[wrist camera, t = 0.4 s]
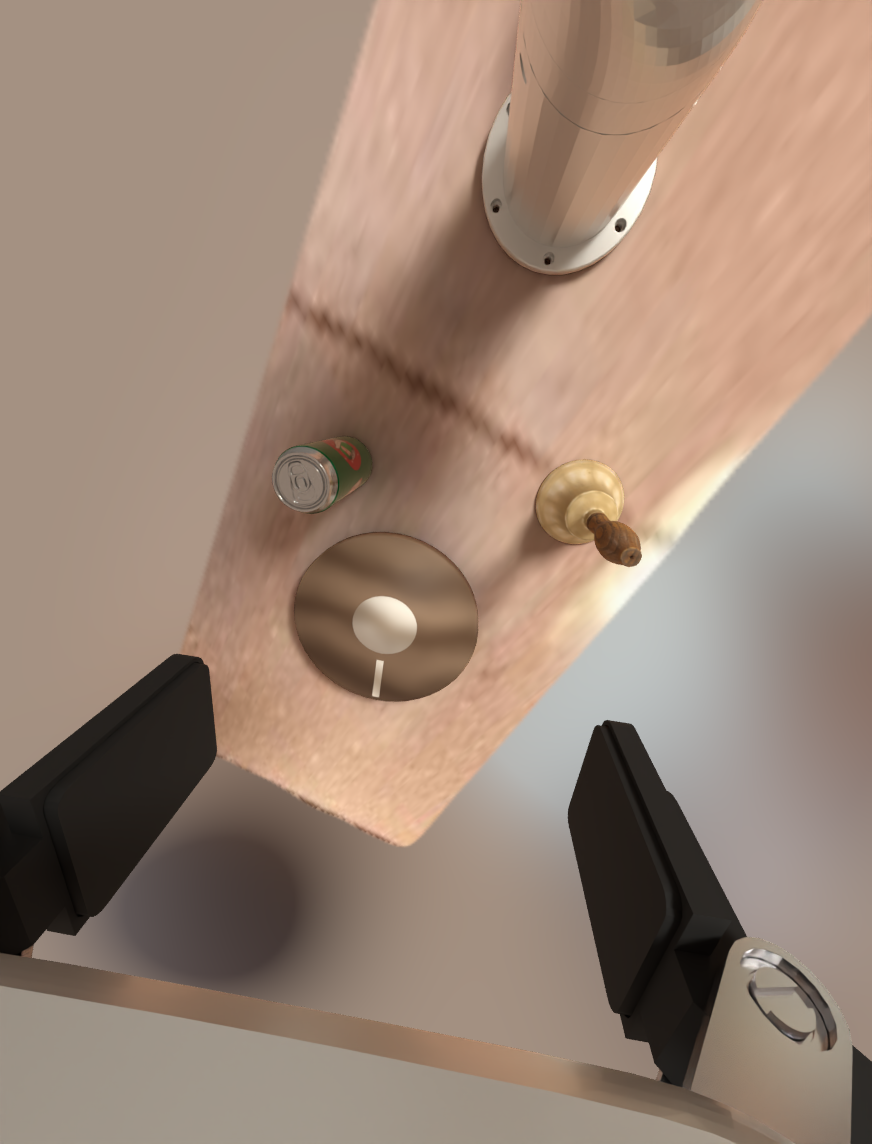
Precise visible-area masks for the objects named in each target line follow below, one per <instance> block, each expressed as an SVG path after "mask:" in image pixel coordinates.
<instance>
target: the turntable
mask: <svg viewBox="0 0 872 1144" xmlns="http://www.w3.org/2000/svg"><path fill="white" fill-rule="evenodd" d="M294 617H295V624H296V630H297V633H298V636H299V639H300V641H301V643H302V646H303V648H304V650H305V651H306V653H307V654H308V656H309V658H310V659H311V660H312V662H313V663H314V664H315V665H316V666H317V668H318V669H319V670H320V671H321V672H322V673H323V674H325V675H326V676H327V677H328V678H329V679H331V680H332V681H333V682H335V683H336V684H338V685H339V686H341V687H343V688H344V689H346V690H349V691H351V692H353V693H355V694H358V695H361V696H363V697H367V698H371V699H375V700H382V701H409V700H414V699H419V698H422V697H426V696H429V695H431V694H433V693H435V692H438V691H440V690H441V689H443V688H444V687H446V686H448V685H449V684H450V683H451V682H452V681H454V680H455V679H456V678H457V677H458V676H459V675H460V674H461V672H462V671H463V670H464V669H465V667H466V666H467V664H468V663H469V661H470V659H471V657H472V655H473V652H474V649H475V646H476V642H477V635H478V612H477V605H476V601H475V598H474V594H473V592H472V590H471V587H470V585H469V583H468V581H467V580H466V578H465V577H464V575H463V574H462V572H461V571H460V570H459V569H458V567H457V566H456V565H455V564H454V563H453V562H452V561H451V560H450V559H449V558H448V557H447V556H446V555H444V554H443V553H442V552H440V551H439V550H437V549H436V548H434V547H433V546H431V545H429V544H427V543H425V542H423V541H421V540H418V539H416V538H413V537H410V536H406V535H402V534H397V533H389V532H372V533H365V534H359V535H356V536H352V537H349V538H347V539H345V540H342V541H340V542H338V543H336V544H335V545H333V546H332V547H330V548H329V549H327V550H326V551H325V552H324V553H323V554H321V555H320V556H319V557H318V558H317V559H316V560H315V561H314V562H313V563H312V565H311V566H310V567H309V568H308V569H307V571H306V573H305V574H304V576H303V577H302V579H301V582H300V584H299V586H298V589H297V593H296V597H295V605H294Z"/></svg>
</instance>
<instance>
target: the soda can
mask: <svg viewBox="0 0 872 1144" xmlns="http://www.w3.org/2000/svg"><path fill="white" fill-rule="evenodd" d="M371 471H372V459H371V456H370V453H369V451H368V449H367V448H366V447H365V445H364V444H363V443H361V442H360V441H359V440H357V439H355V438H353V437H349V436H340V437H335V438H331V439H326V440H321V441H317V442H312V443H308V444H303V445H299V446H295V447H291V448H289V449H287V450H286V451H285V452H283V453H282V454H281V455H280V457H279V458H278V460H277V462H276V464H275V467H274V469H273V474H272V483H273V487H274V490H275V492H276V494H277V496H278V498H279V499H280V500H281V501H282V502H283V503H284V504H285V505H286V506H288V507H289V508H291V509H293V510H296V511H299V512H302V513H308V514H314V513H319V512H322V511H324V510H326V509H328V508H329V507H331V506H332V505H333V504H335V503H336V502H338V501H339V500H341V499H342V498H344V497H345V496H347V495H348V494H350V493H351V492H353V491H354V490H356V489H357V488H359V487H360V486H361V485H363V484H364V483H365V482H366V481H367V480H368V478H369V476H370V474H371Z"/></svg>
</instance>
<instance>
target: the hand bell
mask: <svg viewBox="0 0 872 1144" xmlns="http://www.w3.org/2000/svg"><path fill="white" fill-rule="evenodd" d="M623 505H624V491H623V486H622V483H621V481H620V479H619V478H618V476H617V475H616V473H615V472H614V471H613V470H612V469H610V468H609V467H608V466H606V465H605V464H603V463H600V462H597V461H593V460H585V459H584V460H575V461H571V462H568V463H565V464H563V465H561V466H560V467H558V468H556V469H555V470H554V471H552V472H551V473H550V474H549V475H548V476H547V478H546V479H545V480H544V481H543V483H542V485H541V487H540V489H539V491H538V494H537V499H536V514H537V517H538V520H539V523H540V524H541V526H542V528H543V529H544V530H545V532H546V533H548V534H549V535H550V536H551V537H553V538H554V539H556V540H558V541H561V542H564V543H569V544H582V543H588V542H591V541H595V545H596V547H597V549H598V551H599V552H600V554H601V555H602V556H603V557H604V558H605V559H606V560H608V561H610V562H612V563H615V564H620V565H624V566H627V567H632V566H636V565H637V564H638V563H639V562H640V560H641V558H642V554H641V551H640V550H641V546H640V541H639V538H638V536H637V535H636V533H635V532H634V531H633V530H632V529H631V528H630V527H628V526H627V525H625V524H623V523H620V522H617V520H618V519H619V517H620V515H621V512H622V509H623Z"/></svg>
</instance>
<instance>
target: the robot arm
mask: <svg viewBox="0 0 872 1144" xmlns="http://www.w3.org/2000/svg"><path fill="white" fill-rule="evenodd" d="M762 1H763V0H521V3H520V13H519V22H518V32H517V42H516V51H515V61H514V71H513V80H512V90H511V93H510V94H509V95H508V96H507V98H506V100H505V101H504V103H503V105H502V107H501V108H500V110H499V112H498V114H497V115H496V118H495V120H494V123H493V125H492V128H491V130H490V133H489V136H488V140H487V144H486V148H485V153H484V158H483V170H482V195H483V202H484V208H485V213H486V216H487V219H488V222H489V225H490V228H491V230H492V232H493V234H494V236H495V238H496V240H497V242H498V243H499V245H500V246H501V247H502V248H503V249H504V251H505V252H506V253H507V254H508V256H510V257H511V258H512V259H513V260H515V261H516V262H517V263H518V264H520V265H521V266H523V267H525V268H528V269H530V270H532V271H534V272H538V273H543V274H547V275H563V274H568V273H572V272H577V271H580V270H582V269H584V268H586V267H589V266H591V265H593V264H595V263H596V262H597V261H599V260H600V259H602V258H603V257H605V256H606V255H608V254H609V253H610V252H611V251H612V250H613V249H614V248H615V247H616V246H617V245H618V244H619V243H620V242H621V241H622V240H623V238H624V237H625V236H626V235H627V234H628V232H629V231H630V230H631V228H632V227H633V225H634V224H635V222H636V220H637V219H638V217H639V216H640V214H641V212H642V210H643V208H644V206H645V203H646V201H647V199H648V197H649V194H650V192H651V188H652V185H653V181H654V177H655V174H656V168H657V160H658V155H659V154H660V153H661V151H662V150H663V148H664V147H665V146H666V144H667V143H668V141H669V140H670V139H671V137H672V136H673V134H674V133H675V132H676V130H677V129H678V128H679V126H680V125H681V123H682V122H683V121H684V119H685V118H686V116H687V115H688V114H689V112H690V111H691V109H692V108H693V107H694V105H695V104H696V102H697V101H698V100H699V98H700V97H701V95H702V94H703V93H704V91H705V90H706V88H707V87H708V86H709V84H710V83H711V82H712V80H713V79H714V77H715V76H716V75H717V73H718V72H719V70H720V69H721V68H722V66H723V64H724V63H725V62H726V60H727V59H728V57H729V56H730V54H731V53H732V52H733V50H734V49H735V47H736V46H737V44H738V43H739V41H740V40H741V38H742V37H743V35H744V33H745V32H746V30H747V28H748V27H749V25H750V23H751V22H752V20H753V18H754V16H755V15H756V13H757V11H758V9H759V7H760V6H761V3H762ZM494 207H498V208H499V212H498V213H494V212H493V208H494ZM616 226H619V227H620V232H617V231H616V230H615V227H616ZM545 259H549V260H550V264H549V265H546V264H545V263H544V260H545ZM216 753H217V745H216V735H215V725H214V715H213V704H212V694H211V684H210V674H209V668H208V666H207V665H205V664H204V663H203V660H202V659H201V658H199V657H194V656H188V655H181V654H174V655H172V656H170V657H169V658H168V659H166V660H165V661H164V662H162V663H161V664H160V665H159V666H157V667H156V668H155V669H154V670H152V671H151V672H150V673H149V674H147V675H146V676H145V677H144V678H142V679H141V680H140V681H139V682H137V683H136V684H135V685H134V686H132V687H131V688H130V689H128V690H127V691H126V692H125V693H123V694H122V695H121V696H120V697H119V698H117V699H116V700H115V701H114V702H112V703H111V704H110V705H108V706H107V707H106V708H105V709H104V710H102V711H101V712H100V713H98V714H97V715H96V716H94V717H93V718H92V719H91V720H89V721H88V722H87V723H86V724H84V725H83V726H82V727H81V728H79V729H78V730H77V731H76V732H74V733H73V734H72V735H71V736H69V737H68V738H67V739H66V740H64V741H63V742H62V743H60V744H59V745H58V746H57V747H56V748H54V749H53V750H52V751H50V752H49V753H48V754H47V755H45V756H44V757H43V758H42V759H40V760H39V761H38V762H37V763H35V764H34V765H33V766H32V767H30V768H29V769H28V770H27V771H25V772H24V773H23V774H21V775H20V776H19V777H18V778H17V779H15V780H14V781H13V782H11V783H10V784H9V785H8V786H6V787H5V788H4V789H3V790H1V791H0V1144H872V1062H871V1061H870V1060H869V1059H868V1058H867V1057H866V1056H864V1055H863V1054H862V1053H861V1052H860V1051H859V1050H857V1049H856V1048H855V1047H854V1046H853V1045H852V1042H851V1036H850V1030H849V1028H848V1026H847V1023H846V1021H845V1019H844V1017H843V1014H842V1012H841V1010H840V1008H839V1007H838V1005H837V1004H836V1002H835V1001H834V999H833V998H832V996H831V995H830V993H829V992H828V990H827V989H826V988H825V987H824V986H823V984H822V983H821V982H820V981H819V980H818V979H817V978H816V977H815V975H814V974H813V973H812V972H811V971H810V970H809V969H808V968H807V967H805V966H804V965H803V964H802V963H801V962H800V961H798V960H797V959H796V958H795V957H794V956H793V955H791V954H790V953H788V952H786V951H785V950H783V949H782V948H780V947H778V946H777V945H775V944H772V943H770V942H767V941H765V940H763V939H760V938H752V937H747V936H746V934H745V932H744V930H743V928H742V926H741V924H740V922H739V920H738V918H737V916H736V914H735V913H734V911H733V909H732V907H731V905H730V903H729V901H728V899H727V897H726V895H725V893H724V891H723V889H722V887H721V886H720V884H719V882H718V880H717V878H716V876H715V874H714V872H713V870H712V868H711V866H710V864H709V862H708V860H707V858H706V856H705V855H704V853H703V851H702V849H701V847H700V845H699V843H698V841H697V839H696V838H695V835H694V833H693V831H692V830H691V828H690V826H689V824H688V822H687V820H686V818H685V816H684V814H683V812H682V810H681V808H680V806H679V804H678V803H677V801H676V799H675V798H674V796H673V795H672V794H671V793H670V792H668V791H666V789H665V787H664V785H663V783H662V781H661V779H660V777H659V775H658V773H657V771H656V769H655V767H654V765H653V763H652V761H651V759H650V758H649V755H648V753H647V751H646V749H645V747H644V745H643V743H642V742H641V739H640V737H639V735H638V733H637V732H636V730H635V728H634V726H633V725H632V724H629V723H622V722H615V721H609V720H606V721H604V722H603V724H602V726H600V725H597V726H595V728H594V730H593V734H592V737H591V740H590V743H589V746H588V749H587V752H586V755H585V758H584V761H583V765H582V768H581V771H580V774H579V777H578V780H577V783H576V786H575V789H574V792H573V796H572V799H571V802H570V805H569V809H568V823H569V828H570V833H571V837H572V842H573V846H574V851H575V855H576V860H577V864H578V868H579V873H580V877H581V882H582V886H583V891H584V895H585V899H586V904H587V908H588V913H589V917H590V921H591V926H592V931H593V935H594V940H595V944H596V948H597V953H598V957H599V962H600V966H601V971H602V975H603V979H604V984H605V988H606V993H607V997H608V1001H609V1004H610V1007H611V1009H612V1011H613V1012H614V1013H618V1014H620V1016H621V1020H622V1025H623V1029H624V1033H625V1038H627V1039H632V1040H638V1041H643V1042H648V1043H649V1045H650V1048H651V1052H652V1055H653V1059H654V1063H655V1064H656V1065H657V1067H658V1068H659V1071H658V1074H657V1077H656V1080H653V1079H650V1078H646V1077H643V1076H639V1075H636V1074H632V1073H628V1072H622V1071H618V1070H613V1069H609V1068H604V1067H600V1066H595V1065H591V1064H586V1063H582V1062H577V1061H573V1060H568V1059H564V1058H559V1057H554V1056H549V1055H545V1054H540V1053H536V1052H531V1051H526V1050H521V1049H515V1048H511V1047H506V1046H501V1045H496V1044H490V1043H485V1042H480V1041H475V1040H470V1039H465V1038H460V1037H454V1036H449V1035H444V1034H439V1033H434V1032H429V1031H424V1030H419V1029H414V1028H409V1027H403V1026H398V1025H393V1024H387V1023H383V1022H378V1021H372V1020H367V1019H362V1018H357V1017H351V1016H346V1015H341V1014H336V1013H330V1012H325V1011H320V1010H314V1009H309V1008H304V1007H298V1006H293V1005H288V1004H282V1003H277V1002H272V1001H267V1000H261V999H256V998H251V997H246V996H240V995H235V994H229V993H224V992H219V991H214V990H208V989H202V988H197V987H192V986H186V985H180V984H175V983H170V982H165V981H159V980H154V979H148V978H142V977H137V976H131V975H126V974H120V973H114V972H110V971H104V970H99V969H93V968H88V967H81V966H77V965H71V964H65V963H60V962H53V961H47V960H40V959H35V958H32V953H33V946H34V943H35V942H36V941H37V940H38V939H39V937H40V936H41V935H42V934H43V933H44V931H45V930H46V929H47V931H51V932H57V933H62V934H67V935H73V936H76V934H77V933H78V932H79V930H80V929H81V928H82V926H83V925H84V924H85V923H86V921H87V920H88V919H89V917H94V916H96V915H97V914H99V913H100V912H101V911H102V910H103V909H104V907H105V906H106V905H107V904H108V902H109V901H110V900H111V898H112V897H113V896H114V894H115V893H116V892H117V890H118V889H119V888H120V886H121V885H122V884H123V882H124V881H125V880H126V878H127V877H128V876H129V874H130V873H131V872H132V870H133V869H134V868H135V866H136V865H137V864H138V862H139V861H140V860H141V858H142V857H143V856H144V854H145V853H146V852H147V850H148V849H149V848H150V846H151V845H152V844H153V842H154V841H155V840H156V839H157V837H158V836H159V834H160V833H161V832H162V831H163V829H164V828H165V827H166V825H167V824H168V823H169V821H170V820H171V819H172V817H173V816H174V815H175V813H176V812H177V811H178V809H179V808H180V807H181V805H182V804H183V803H184V801H185V800H186V799H187V797H188V796H189V795H190V793H191V792H192V791H193V789H194V788H195V786H196V785H197V784H198V783H199V781H200V780H201V779H202V777H203V776H204V775H205V773H206V772H207V771H208V769H209V768H210V767H211V765H212V764H213V762H214V760H215V757H216Z"/></svg>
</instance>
